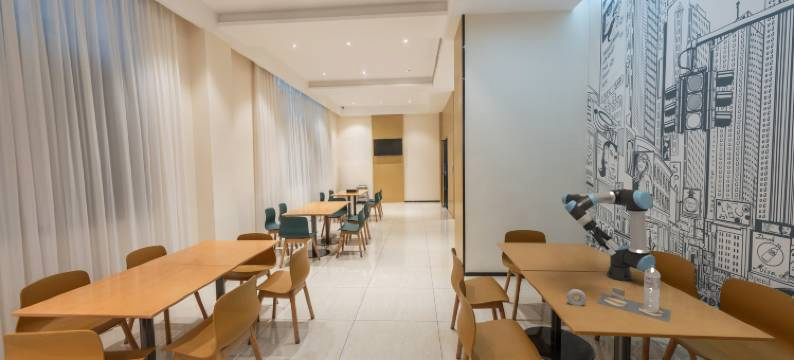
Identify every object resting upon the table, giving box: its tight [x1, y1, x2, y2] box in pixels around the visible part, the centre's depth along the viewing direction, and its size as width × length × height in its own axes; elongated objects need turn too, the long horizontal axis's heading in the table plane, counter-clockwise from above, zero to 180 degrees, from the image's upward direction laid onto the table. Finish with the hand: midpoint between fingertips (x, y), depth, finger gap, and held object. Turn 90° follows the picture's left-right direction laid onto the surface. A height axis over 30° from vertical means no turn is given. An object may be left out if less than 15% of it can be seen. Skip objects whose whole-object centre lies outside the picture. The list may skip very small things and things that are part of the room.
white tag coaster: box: [604, 286, 627, 307], centre depth 183 cm, size 14×11×6 cm
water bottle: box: [642, 265, 662, 313], centre depth 170 cm, size 7×7×25 cm
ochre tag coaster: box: [638, 297, 664, 317], centre depth 172 cm, size 14×11×6 cm
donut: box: [566, 288, 587, 307], centre depth 180 cm, size 10×3×10 cm, turn 75°
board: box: [596, 293, 672, 323], centre depth 177 cm, size 18×32×1 cm, turn 46°
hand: (615, 251), depth 183 cm, fingers open, 13 cm apart
